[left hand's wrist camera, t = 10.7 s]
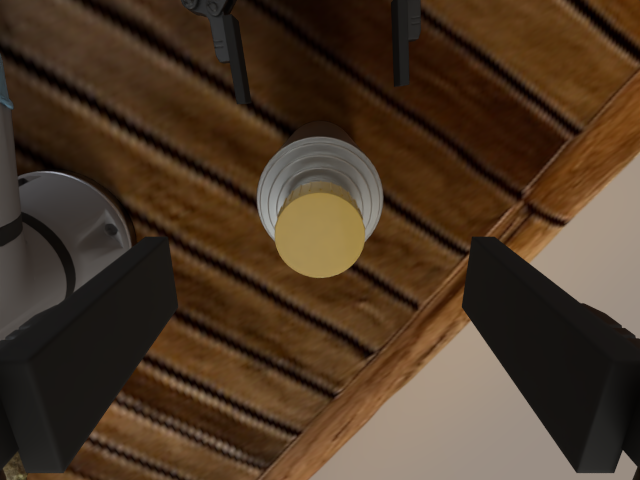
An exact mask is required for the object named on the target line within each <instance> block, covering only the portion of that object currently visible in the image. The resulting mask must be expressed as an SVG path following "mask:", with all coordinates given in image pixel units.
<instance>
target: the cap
mask: <svg viewBox="0 0 640 480" xmlns="http://www.w3.org/2000/svg"><path fill="white" fill-rule="evenodd" d="M277 218H278V219H277V222H276V224H275V243H276V247H277V250H278V252H279V254H280V256H281V258H282V259H283V260H284V262H285V263H286V264H287V265H288V266H289V267H291V268H292V269H293V270H295V271H296V272H298V273H300V274H303V275H306V276H310V277H316V278H324V277H330V276H334V275H337V274H339V273H341V272H343V271H345V270H346V269H348V268H349V267H350V266H351V265H353V264H354V262H355V261H356V260H357V259H358V257H359V256H360V254H361V252H362V249H363V246H364V242H365V226H364V223H363V221H362V220H364V219H363V216H362V214H361V211H360V208H358V205H357V203H356V200H355V199H353V198H352V196H351V195H350V193H349V192H347V191H346V190H344V189H343V188H342V187H341V186H338V185H335V184H333V183H332V182H330V183H329V182H322V181H320V182H310V183H307V184H304V185H300V187H298V188H297V189H295V190H294V191H292V192H291V194H290V195H289V196H288V197H287V198H285V200H284V203H283V206H281V208H280V210H279V213H278V216H277Z"/></svg>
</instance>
